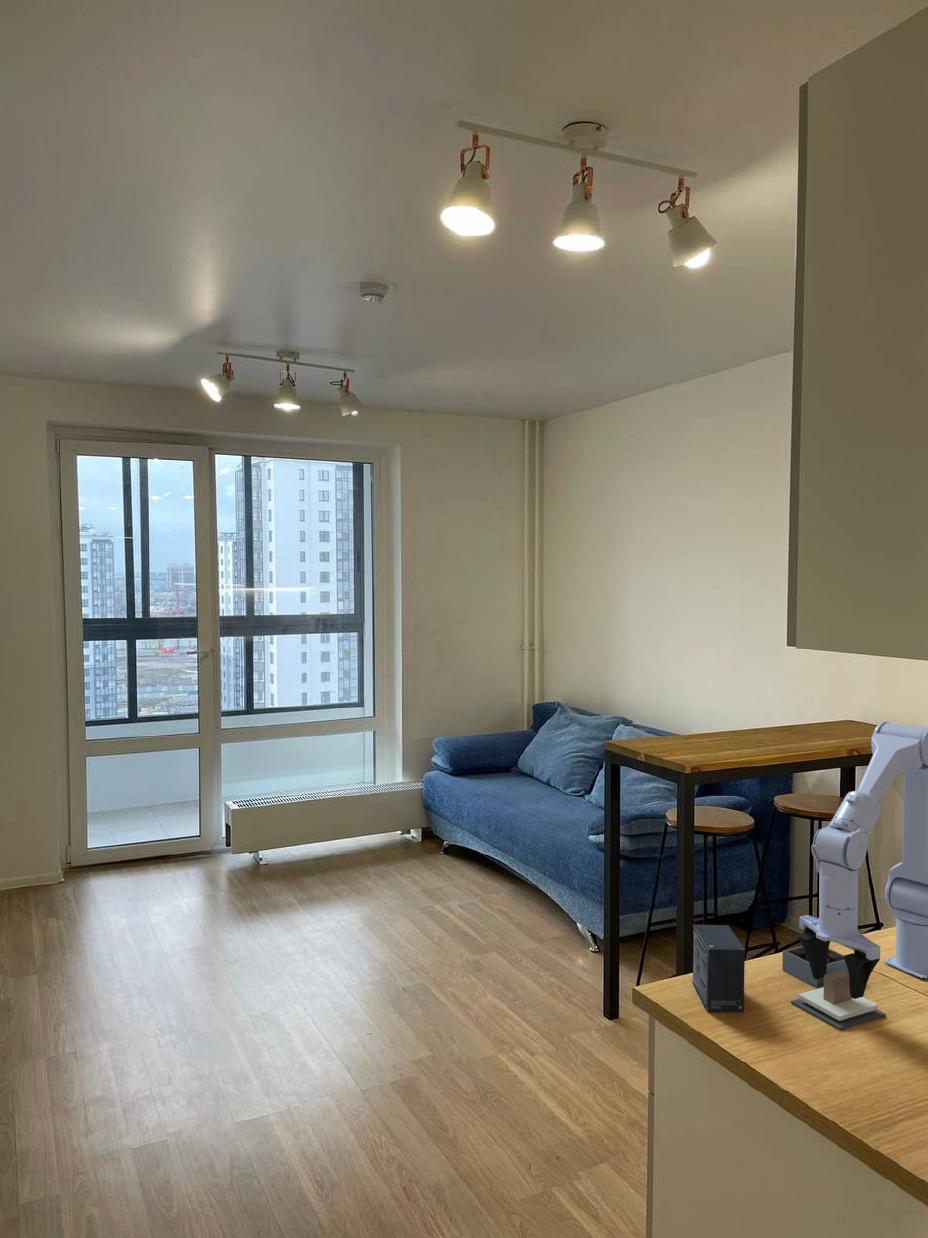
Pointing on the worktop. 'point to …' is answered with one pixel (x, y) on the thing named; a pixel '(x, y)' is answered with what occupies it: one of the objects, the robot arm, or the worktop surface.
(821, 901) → the robot arm
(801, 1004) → the mat
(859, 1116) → the worktop surface
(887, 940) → the worktop surface
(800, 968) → the tin
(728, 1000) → the small box
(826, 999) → the lid
